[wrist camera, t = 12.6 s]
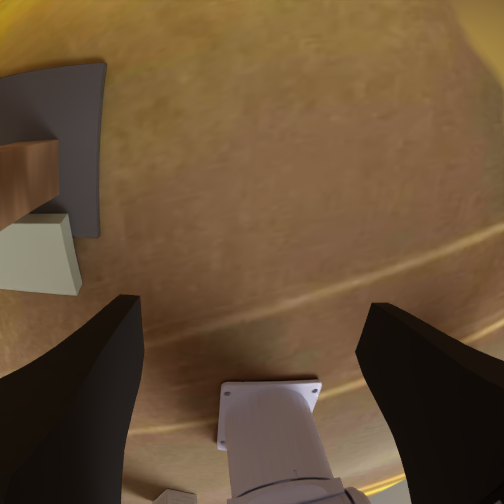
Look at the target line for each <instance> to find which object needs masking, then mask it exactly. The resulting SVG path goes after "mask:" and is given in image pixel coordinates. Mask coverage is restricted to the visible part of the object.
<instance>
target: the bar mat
mask: <svg viewBox="0 0 504 504" xmlns="http://www.w3.org/2000/svg"><path fill="white" fill-rule="evenodd" d="M106 66H107V64H106V63H92V64H81V65H72V66H63V67H56V68H49V69H42V70H36V71H31V72H25V73H20V74H15V75H10V76H5V77H1V78H0V146H2V145H7V144H12V143H18V142H29V141H42V140H59V195H58V196H56V197H54V198H53V199H51V200H49V201H48V202H46V203H44V204H42V205H41V206H39V207H38V208H36V209H34V210H33V211H31V212H29V213H28V214H68V217H69V223H70V228H71V234H72V237H85V238H98V237H99V236H100V219H99V149H100V128H101V114H102V102H103V91H104V82H105V74H106Z"/></svg>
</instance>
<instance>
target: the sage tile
mask: <svg viewBox="0 0 504 504" xmlns="http://www.w3.org/2000/svg"><path fill="white" fill-rule="evenodd" d="M81 286H82V280H81V275H80V271H79V267H78V263H77V258H76V253H75V249H74V244H73V239H72V234H71V228H70V223H69V217H68V214H26V215H25V216H23V217H21V218H20V219H18V220H17V221H15V222H14V223H12V224H11V225H9V226H8V227H6V228H5V229H3V230H2V231H0V289H8V290H18V291H28V292H39V293H50V294H62V295H75V296H77V295H78V292H79V290H80V288H81Z"/></svg>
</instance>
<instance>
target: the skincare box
mask: <svg viewBox="0 0 504 504" xmlns="http://www.w3.org/2000/svg"><path fill="white" fill-rule="evenodd" d="M152 504H197V495H195V494H190V493H185V492H180V491H176V490H171V489H166V490H165V491H164V492H163V493H162V494H161V495H160V496H159V497H158V498H156V499H155V500H154V501H153V502H152Z"/></svg>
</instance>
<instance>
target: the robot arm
mask: <svg viewBox="0 0 504 504" xmlns="http://www.w3.org/2000/svg"><path fill="white" fill-rule="evenodd" d="M355 353H356V356H357V359H358V362H359V365H360V368H361V371H362V374H363V376H364V378H365V381H366V383H367V385H368V386H369V388H370V390H371V392H372V394H373V396H374V398H375V400H376V402H377V404H378V406H379V408H380V410H381V412H382V414H383V416H384V418H385V420H386V422H387V424H388V426H389V428H390V430H391V432H392V435H393V437H394V440H395V443H396V446H397V448H398V451H399V454H400V457H401V461H402V464H403V468H404V472H405V475H406V479H407V483H408V488H409V493H410V498H411V503H412V504H504V361H503V360H500V359H497V358H495V357H492V356H490V355H487V354H485V353H483V352H480V351H478V350H476V349H474V348H471V347H469V346H467V345H465V344H463V343H461V342H460V341H458V340H456V339H454V338H452V337H450V336H448V335H446V334H445V333H443V332H441V331H439V330H438V329H436V328H434V327H432V326H431V325H429V324H427V323H425V322H424V321H422V320H420V319H418V318H417V317H415V316H413V315H411V314H410V313H408V312H406V311H404V310H402V309H400V308H398V307H396V306H394V305H392V304H389V303H371V307H370V310H369V313H368V316H367V319H366V322H365V325H364V328H363V331H362V334H361V337H360V340H359V343H358V345H357V348H356V351H355ZM143 358H144V341H143V330H142V317H141V303H140V296H135V295H122V294H120V295H119V296H117V297H116V298H115V299H114V300H112V301H111V302H110V303H109V304H108V305H107V306H106V307H104V308H103V309H102V310H101V311H100V312H99V313H97V314H96V315H95V316H94V317H93V318H91V319H90V320H89V321H88V322H87V323H86V324H84V325H83V326H82V327H81V328H79V329H78V330H77V331H75V332H74V333H73V334H72V335H70V336H69V337H68V338H66V339H65V340H64V341H62V342H61V343H60V344H58V345H57V346H56V347H54V348H53V349H51V350H50V351H48V352H47V353H45V354H44V355H42V356H41V357H39V358H37V359H36V360H34V361H32V362H31V363H29V364H27V365H26V366H24V367H22V368H20V369H18V370H16V371H14V372H12V373H10V374H8V375H6V376H4V377H2V378H0V504H121V488H122V471H123V459H124V449H125V443H126V438H127V433H128V429H129V425H130V421H131V416H132V412H133V408H134V404H135V400H136V396H137V392H138V388H139V384H140V380H141V374H142V366H143ZM321 387H322V383H321V381H320V380H317V379H315V380H298V381H273V382H225V383H223V384H222V385H221V393H220V407H219V421H218V435H217V449H219V450H227V456H228V466H229V475H230V484H231V493H232V499H228V500H227V504H371V503H370V501H369V499H368V498H367V496H366V495H365V494H364V493H363V492H361V491H359V490H357V489H356V488H354V487H348V488H345V489H344V487H343V485H342V482H341V479H340V478H335V479H334V477H333V474H332V471H331V468H330V465H329V462H328V460H327V457H326V454H325V451H324V448H323V445H322V442H321V439H320V436H319V433H318V430H317V427H316V424H315V422H314V419H313V416H312V412H313V409H314V406H315V404H316V401H317V398H318V395H319V393H320V390H321ZM313 389H314V390H313Z"/></svg>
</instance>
